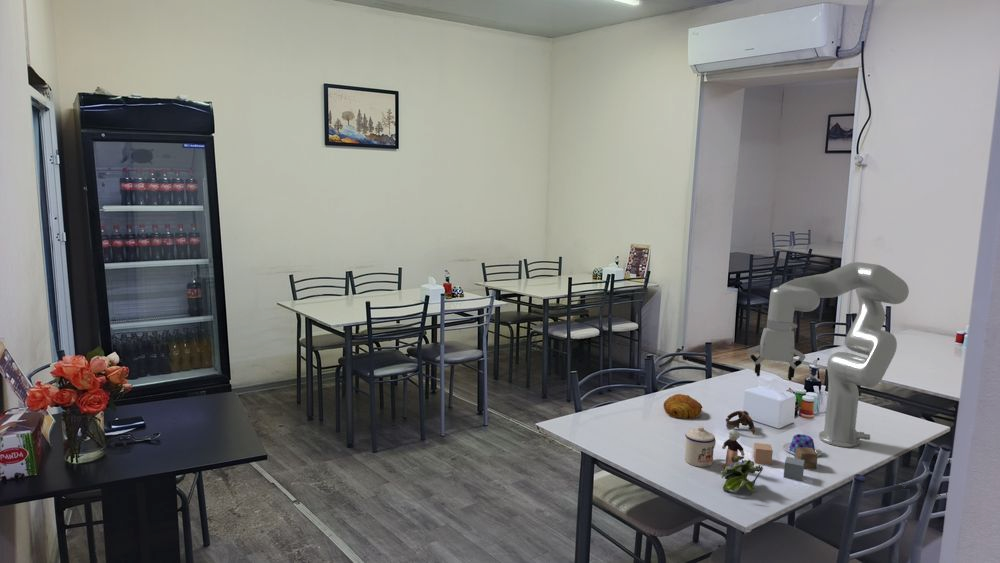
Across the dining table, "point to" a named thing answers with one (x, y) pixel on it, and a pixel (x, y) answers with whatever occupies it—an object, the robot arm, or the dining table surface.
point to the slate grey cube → (794, 468)
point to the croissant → (682, 406)
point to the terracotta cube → (762, 453)
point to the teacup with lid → (699, 447)
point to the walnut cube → (807, 457)
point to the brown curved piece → (740, 420)
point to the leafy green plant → (739, 474)
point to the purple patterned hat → (801, 444)
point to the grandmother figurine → (732, 447)
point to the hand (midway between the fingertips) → (773, 377)
